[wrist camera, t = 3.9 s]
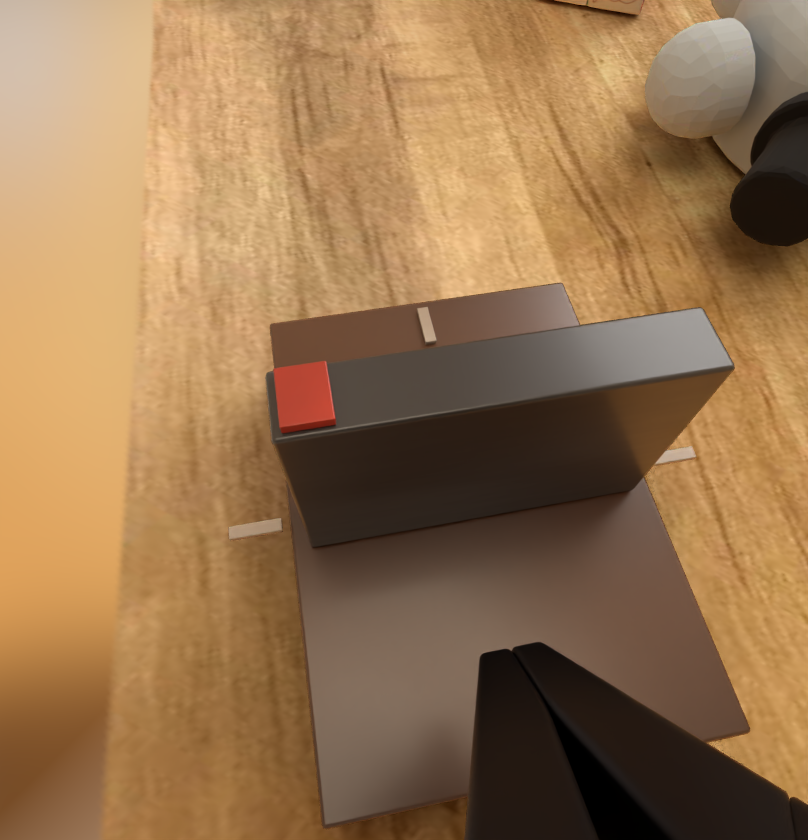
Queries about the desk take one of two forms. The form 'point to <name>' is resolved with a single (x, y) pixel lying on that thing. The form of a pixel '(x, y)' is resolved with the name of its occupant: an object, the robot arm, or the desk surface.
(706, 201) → the desk surface
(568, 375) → the dial pointer
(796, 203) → the figurine
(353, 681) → the dial panel
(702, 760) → the robot arm
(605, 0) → the stack of blocks
